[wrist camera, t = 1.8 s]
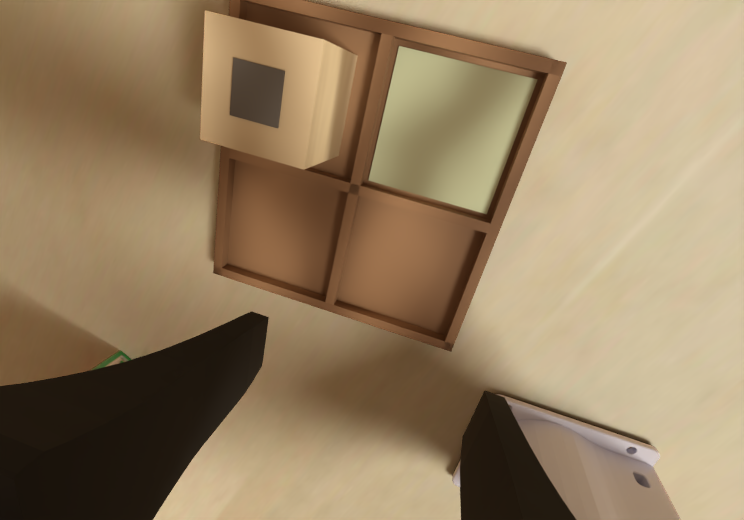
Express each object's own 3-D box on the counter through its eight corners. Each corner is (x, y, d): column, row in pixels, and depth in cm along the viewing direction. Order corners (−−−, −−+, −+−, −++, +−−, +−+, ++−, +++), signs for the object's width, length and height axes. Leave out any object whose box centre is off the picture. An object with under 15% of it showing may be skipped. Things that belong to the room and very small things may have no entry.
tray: (561, 65, 16) (566, 62, 15) (451, 341, 22) (450, 351, 21) (242, -11, 17) (230, -17, 16) (223, 266, 23) (213, 272, 22)
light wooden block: (357, 55, 17) (323, 39, 13) (338, 155, 19) (303, 170, 15) (265, 32, 17) (203, 9, 13) (255, 132, 19) (199, 139, 15)
